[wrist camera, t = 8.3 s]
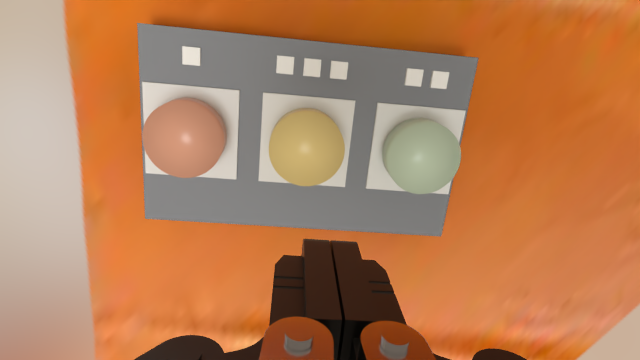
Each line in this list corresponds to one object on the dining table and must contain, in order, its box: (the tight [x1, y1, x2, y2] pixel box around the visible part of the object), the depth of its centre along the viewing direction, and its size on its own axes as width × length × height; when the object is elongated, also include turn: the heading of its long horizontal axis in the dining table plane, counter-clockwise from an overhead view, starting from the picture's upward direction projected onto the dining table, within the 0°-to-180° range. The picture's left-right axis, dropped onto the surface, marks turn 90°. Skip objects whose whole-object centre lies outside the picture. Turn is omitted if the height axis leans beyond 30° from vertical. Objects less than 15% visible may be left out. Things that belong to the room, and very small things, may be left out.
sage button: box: [382, 118, 461, 194], centre depth 25 cm, size 4×4×2 cm
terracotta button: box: [142, 97, 227, 178], centre depth 24 cm, size 4×4×2 cm
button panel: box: [137, 23, 478, 236], centre depth 27 cm, size 20×12×3 cm, turn 85°
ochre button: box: [269, 108, 345, 186], centre depth 25 cm, size 4×4×2 cm
